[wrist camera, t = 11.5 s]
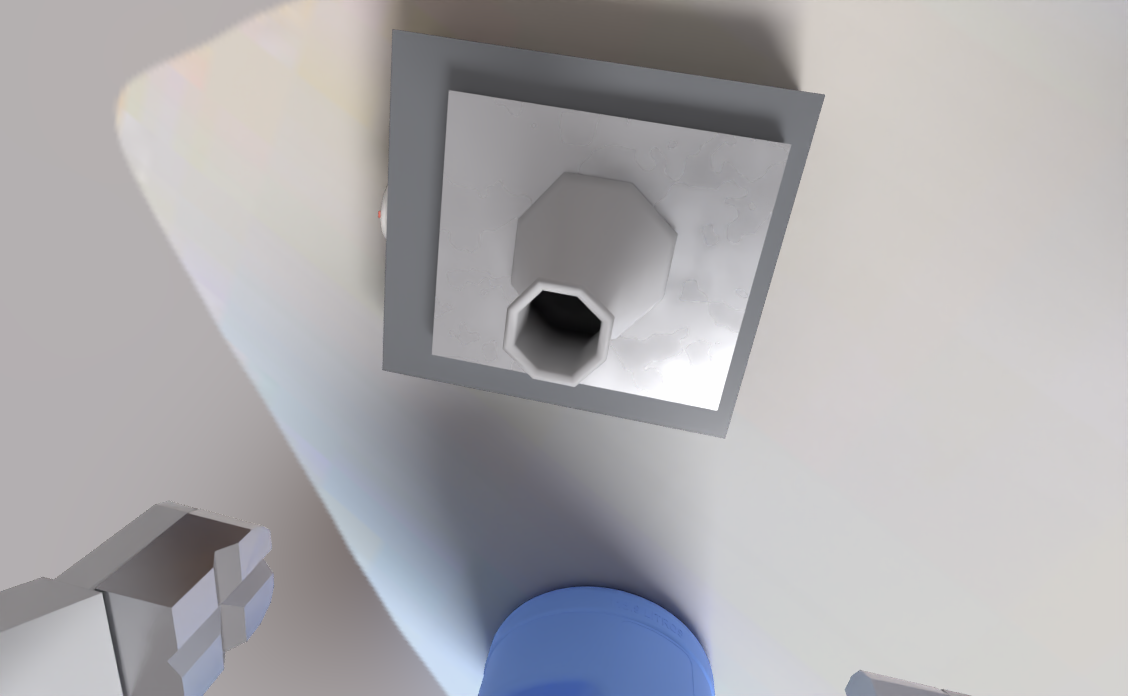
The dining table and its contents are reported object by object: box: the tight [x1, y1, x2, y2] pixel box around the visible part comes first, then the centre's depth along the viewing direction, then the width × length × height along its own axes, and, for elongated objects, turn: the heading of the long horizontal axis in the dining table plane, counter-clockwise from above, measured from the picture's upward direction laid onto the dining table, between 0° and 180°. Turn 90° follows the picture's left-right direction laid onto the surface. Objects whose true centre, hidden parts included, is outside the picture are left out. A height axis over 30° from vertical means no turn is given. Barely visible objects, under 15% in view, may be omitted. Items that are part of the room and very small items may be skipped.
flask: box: [502, 172, 678, 387], centre depth 21 cm, size 7×7×10 cm
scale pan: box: [432, 90, 791, 410], centre depth 26 cm, size 14×12×1 cm
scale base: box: [378, 29, 825, 438], centre depth 29 cm, size 19×16×4 cm
